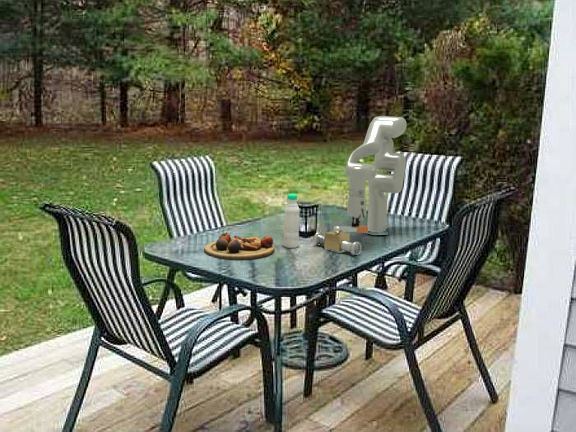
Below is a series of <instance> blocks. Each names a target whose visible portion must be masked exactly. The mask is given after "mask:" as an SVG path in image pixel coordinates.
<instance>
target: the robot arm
mask: <svg viewBox="0 0 576 432" xmlns="http://www.w3.org/2000/svg"><path fill="white" fill-rule="evenodd" d="M406 129H407V121H406V119H405V118H404V117H402V116H386V115H381V116H375V117H374V118H373V119H372V120H371V122H370V123H369V126H368V129H367V132H366V134H365V137H364V141H363V143H362V144H361V145H360V146H358V147H357V148H355V149H354V150H353V151H352V152H351V154H350V155H349V157H348V160H347V163H346V165H345V171H344V172H345V176H346V177H347V178H348V179H349V181H348V182H349V183H348V197H347V205H346V207H347V208H346V212H347V215H348V217H349V218H350V222H351V227H356V226H358V225H360V224H361V222H363V221H364V218H366V217H367V226H368V231H371V232H383V231H386V229H387V230H388V229H390V228H392V227H391V224H387V218H388V216H387V215H388V197H387V196H386V194H385V193H387V194H399V193H400V192H401V191H402V189H403V185H404V179H405V178H404V177H405V172H406V166H407V164H406V163H407V159H406V157H405V155H404V154H403V153H399V152H393V151H394V146H395V145H394V140H393V139H395V138H398V137H400V136H402V135H404V133H405V132H406ZM392 138H393V139H392ZM371 155H374V160H373V161H374V162H373V164H369V163H362V162H361V163H359V162H358V161H360V160H362V159H364V158H366V157H369V156H371ZM377 171H383V172H377ZM385 172H387V173H385ZM388 172H393V173H388ZM366 181H367V187H368V206H367V200H366ZM367 207H368V209H367Z"/></svg>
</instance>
